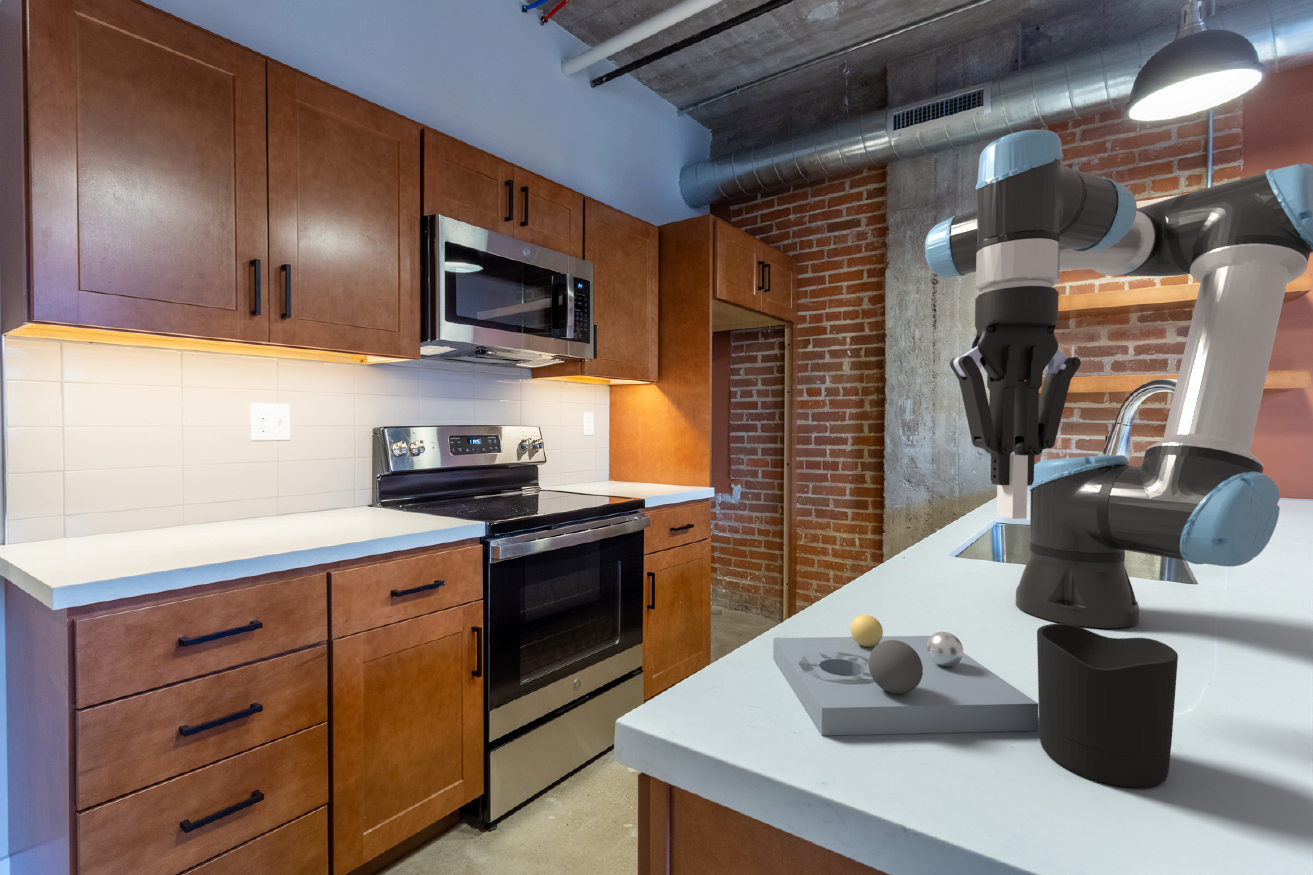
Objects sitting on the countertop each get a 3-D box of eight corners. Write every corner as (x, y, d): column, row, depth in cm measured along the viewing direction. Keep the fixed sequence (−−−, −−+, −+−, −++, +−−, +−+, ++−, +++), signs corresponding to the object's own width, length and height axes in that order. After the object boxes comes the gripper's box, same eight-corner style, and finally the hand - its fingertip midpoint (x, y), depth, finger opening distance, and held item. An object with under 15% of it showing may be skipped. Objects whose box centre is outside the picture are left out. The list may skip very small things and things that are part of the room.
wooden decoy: (875, 640, 73) (875, 610, 73) (887, 651, 69) (888, 620, 69) (845, 640, 73) (846, 610, 73) (857, 651, 69) (857, 620, 69)
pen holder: (1103, 729, 57) (1105, 621, 57) (1207, 788, 48) (1210, 660, 48) (1009, 736, 56) (1012, 625, 55) (1098, 799, 46) (1101, 666, 46)
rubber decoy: (908, 680, 61) (908, 632, 61) (932, 702, 57) (933, 650, 57) (860, 681, 61) (861, 633, 61) (880, 703, 56) (881, 651, 56)
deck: (938, 656, 75) (938, 635, 75) (1037, 730, 57) (1038, 703, 57) (773, 658, 74) (773, 637, 73) (821, 735, 56) (821, 707, 56)
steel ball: (951, 658, 67) (952, 626, 67) (970, 671, 64) (970, 638, 64) (920, 659, 67) (920, 627, 67) (936, 672, 63) (937, 638, 63)
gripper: (1051, 299, 69) (1047, 511, 69) (936, 297, 68) (933, 511, 69) (1103, 283, 61) (1098, 522, 62) (975, 281, 61) (970, 522, 61)
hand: (1011, 516), depth 65 cm, fingers closed
